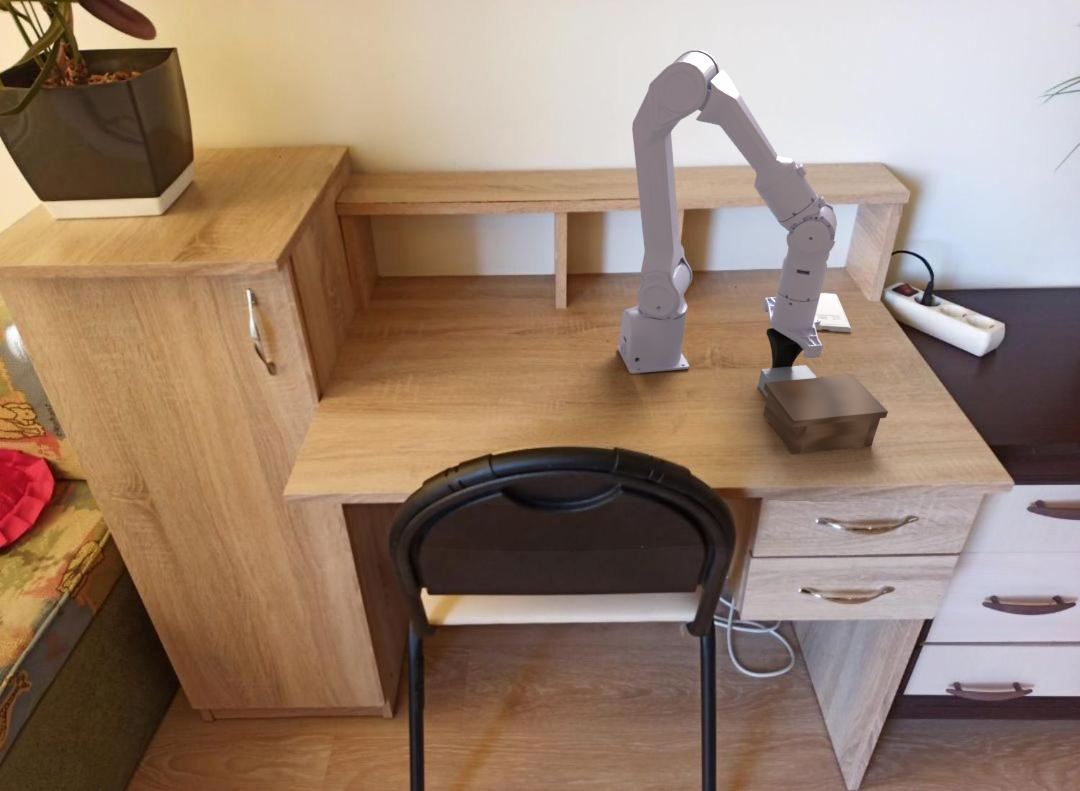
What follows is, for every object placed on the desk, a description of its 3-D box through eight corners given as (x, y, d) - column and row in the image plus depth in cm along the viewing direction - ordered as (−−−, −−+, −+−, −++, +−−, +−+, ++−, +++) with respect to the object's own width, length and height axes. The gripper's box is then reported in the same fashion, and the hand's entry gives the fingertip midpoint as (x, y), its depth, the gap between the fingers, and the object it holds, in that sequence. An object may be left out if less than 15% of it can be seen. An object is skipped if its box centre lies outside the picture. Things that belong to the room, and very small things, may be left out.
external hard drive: (835, 301, 137) (849, 335, 127) (789, 299, 138) (799, 331, 128) (837, 293, 136) (851, 326, 126) (790, 290, 137) (801, 323, 127)
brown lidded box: (785, 454, 99) (794, 420, 96) (757, 415, 106) (764, 382, 103) (877, 445, 101) (888, 411, 98) (843, 406, 108) (852, 374, 105)
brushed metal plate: (800, 443, 101) (805, 425, 99) (757, 386, 113) (761, 369, 111) (848, 438, 102) (854, 420, 101) (801, 382, 114) (805, 365, 112)
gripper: (851, 314, 100) (828, 399, 107) (801, 268, 112) (784, 347, 119) (801, 318, 99) (782, 403, 106) (756, 271, 110) (741, 351, 118)
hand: (780, 374), depth 113 cm, fingers closed
